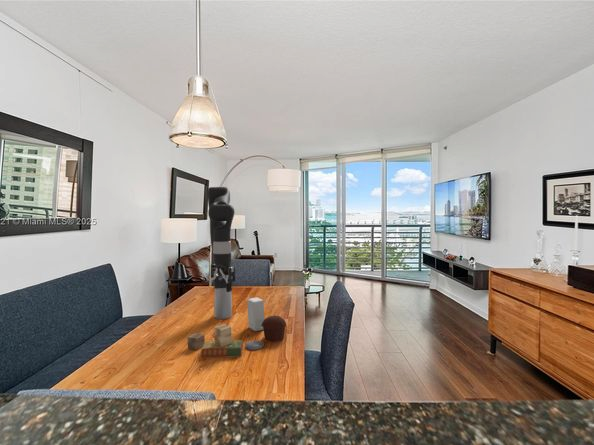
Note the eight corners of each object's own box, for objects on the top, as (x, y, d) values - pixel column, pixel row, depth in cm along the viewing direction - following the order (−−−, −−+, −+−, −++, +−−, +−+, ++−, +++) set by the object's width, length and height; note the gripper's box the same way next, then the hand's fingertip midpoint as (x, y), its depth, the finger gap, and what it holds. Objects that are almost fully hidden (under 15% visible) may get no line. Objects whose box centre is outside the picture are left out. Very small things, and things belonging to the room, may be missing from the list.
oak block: (214, 343, 131) (214, 327, 131) (224, 340, 135) (224, 324, 134) (221, 347, 127) (221, 330, 127) (231, 343, 131) (231, 326, 131)
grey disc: (241, 346, 136) (241, 344, 136) (255, 341, 142) (255, 339, 142) (253, 351, 131) (253, 350, 131) (267, 345, 137) (267, 344, 137)
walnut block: (187, 348, 135) (187, 337, 135) (195, 344, 140) (195, 333, 140) (197, 350, 133) (196, 338, 133) (204, 345, 138) (204, 334, 138)
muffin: (284, 332, 152) (284, 312, 152) (288, 341, 142) (288, 319, 141) (260, 334, 150) (259, 314, 150) (262, 344, 139) (262, 321, 139)
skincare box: (265, 329, 157) (264, 300, 156) (254, 332, 153) (253, 302, 153) (257, 324, 164) (257, 296, 163) (247, 327, 160) (246, 298, 160)
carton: (205, 350, 134) (205, 340, 134) (243, 348, 136) (243, 339, 136) (201, 359, 126) (201, 348, 126) (241, 357, 127) (241, 347, 127)
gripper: (204, 251, 133) (205, 289, 134) (224, 254, 124) (225, 294, 124) (219, 249, 139) (220, 285, 139) (239, 252, 129) (240, 291, 130)
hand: (222, 290), depth 132 cm, fingers open, 8 cm apart
